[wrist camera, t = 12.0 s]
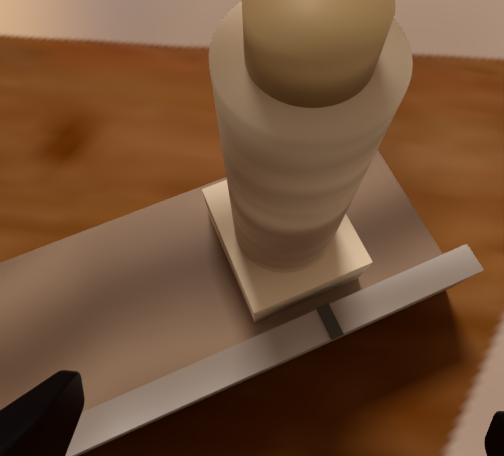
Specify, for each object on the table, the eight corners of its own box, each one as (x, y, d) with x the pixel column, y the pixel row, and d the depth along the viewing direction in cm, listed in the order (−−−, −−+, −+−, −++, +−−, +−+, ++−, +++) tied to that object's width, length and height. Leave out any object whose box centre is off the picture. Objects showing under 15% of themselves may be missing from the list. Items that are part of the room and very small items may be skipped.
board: (446, 291, 19) (486, 270, 16) (29, 479, 17) (-29, 502, 13) (355, 141, 22) (373, 98, 19) (-9, 281, 20) (-63, 260, 17)
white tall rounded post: (358, 278, 18) (544, 72, 6) (254, 323, 17) (246, 187, 6) (303, 176, 20) (368, -130, 8) (208, 213, 19) (129, -60, 8)
